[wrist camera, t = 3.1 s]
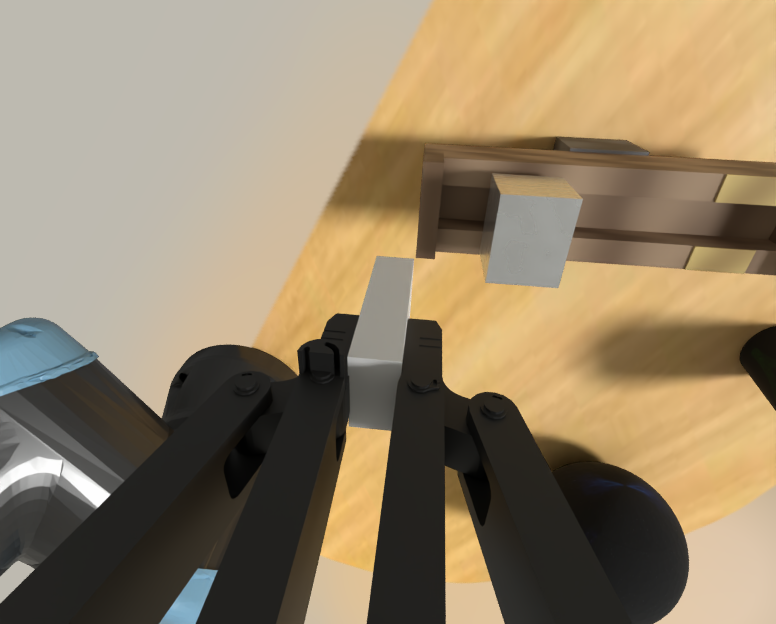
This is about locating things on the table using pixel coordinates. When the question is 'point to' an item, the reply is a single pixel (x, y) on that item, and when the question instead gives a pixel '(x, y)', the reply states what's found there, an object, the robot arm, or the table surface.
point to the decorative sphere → (629, 536)
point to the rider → (528, 229)
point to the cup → (762, 362)
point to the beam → (614, 204)
